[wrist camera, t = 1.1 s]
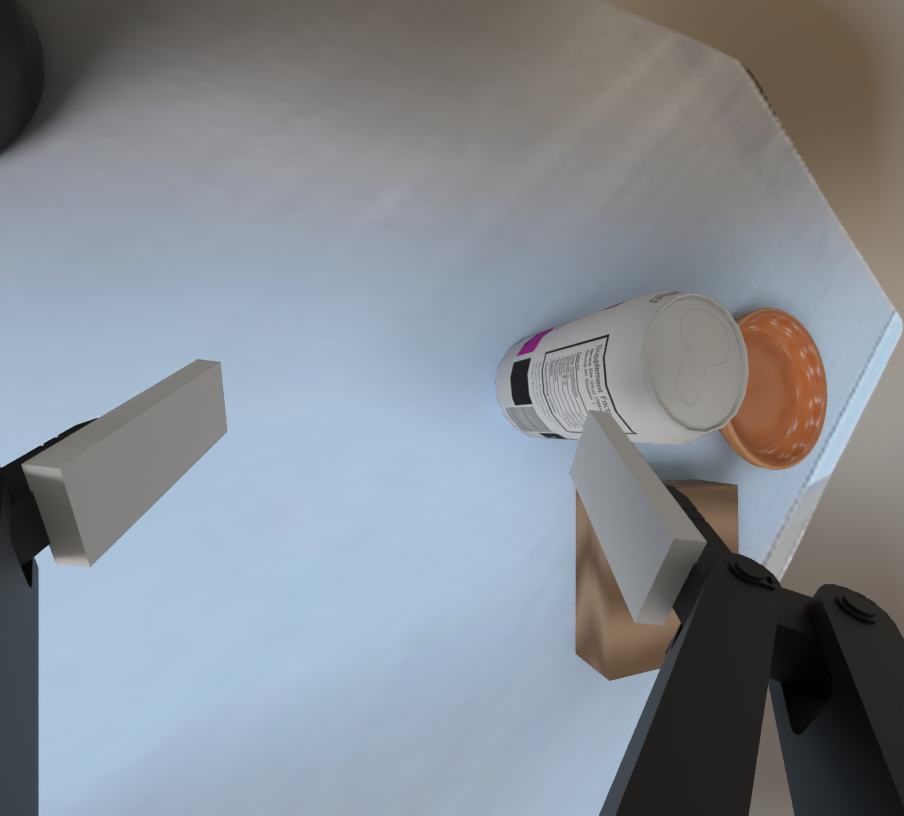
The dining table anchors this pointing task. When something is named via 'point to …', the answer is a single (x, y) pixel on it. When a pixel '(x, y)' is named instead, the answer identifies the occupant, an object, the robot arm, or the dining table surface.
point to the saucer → (778, 392)
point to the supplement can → (630, 371)
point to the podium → (602, 604)
